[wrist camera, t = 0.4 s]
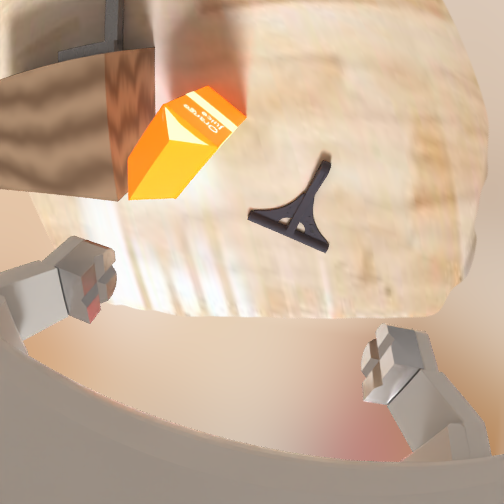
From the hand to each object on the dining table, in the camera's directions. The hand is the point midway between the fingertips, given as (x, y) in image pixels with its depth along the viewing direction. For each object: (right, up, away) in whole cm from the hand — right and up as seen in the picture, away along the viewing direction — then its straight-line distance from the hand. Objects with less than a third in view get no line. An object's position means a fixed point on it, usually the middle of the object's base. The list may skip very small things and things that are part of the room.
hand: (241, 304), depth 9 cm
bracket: (+9, +10, +41) cm, 43 cm away
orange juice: (-6, +21, +35) cm, 41 cm away
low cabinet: (-30, +27, +37) cm, 54 cm away
